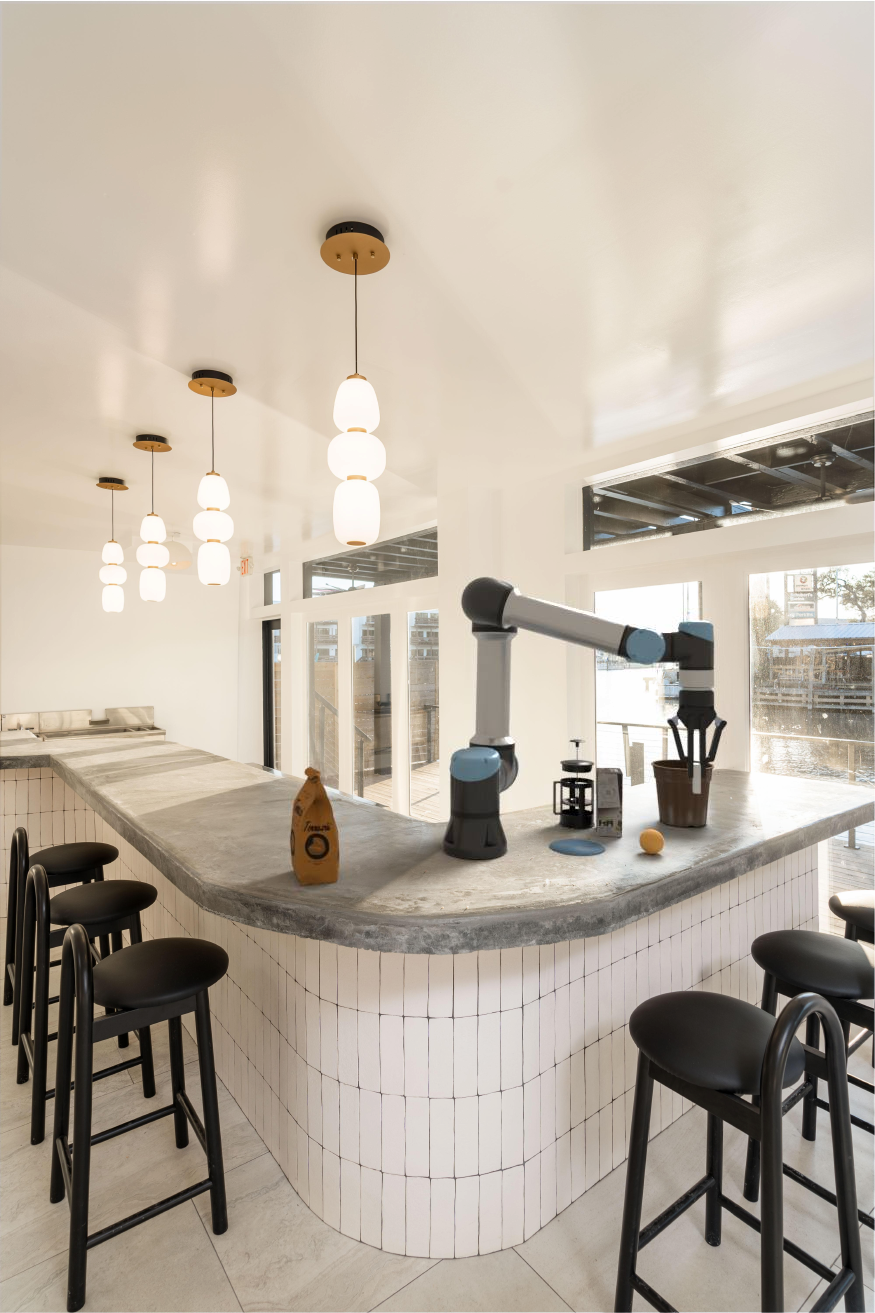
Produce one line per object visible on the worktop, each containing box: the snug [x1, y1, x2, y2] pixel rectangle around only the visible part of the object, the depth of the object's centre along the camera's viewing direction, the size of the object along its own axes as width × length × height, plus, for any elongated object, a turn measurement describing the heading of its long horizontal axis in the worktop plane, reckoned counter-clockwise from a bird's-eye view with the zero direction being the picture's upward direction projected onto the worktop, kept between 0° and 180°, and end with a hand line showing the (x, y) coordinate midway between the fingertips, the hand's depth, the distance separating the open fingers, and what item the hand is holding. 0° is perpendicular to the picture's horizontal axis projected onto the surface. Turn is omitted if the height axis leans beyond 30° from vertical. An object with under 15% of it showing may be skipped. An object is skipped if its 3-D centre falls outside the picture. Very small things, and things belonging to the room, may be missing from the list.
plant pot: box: [650, 759, 715, 828], centre depth 183 cm, size 16×16×16 cm
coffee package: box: [289, 766, 340, 886], centre depth 139 cm, size 10×12×22 cm
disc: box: [549, 838, 606, 857], centre depth 159 cm, size 13×13×1 cm
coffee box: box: [595, 767, 624, 838], centre depth 173 cm, size 9×6×16 cm
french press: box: [552, 738, 596, 830], centre depth 180 cm, size 12×9×23 cm
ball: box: [639, 828, 665, 855], centre depth 155 cm, size 6×6×6 cm
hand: (696, 792), depth 152 cm, fingers closed
